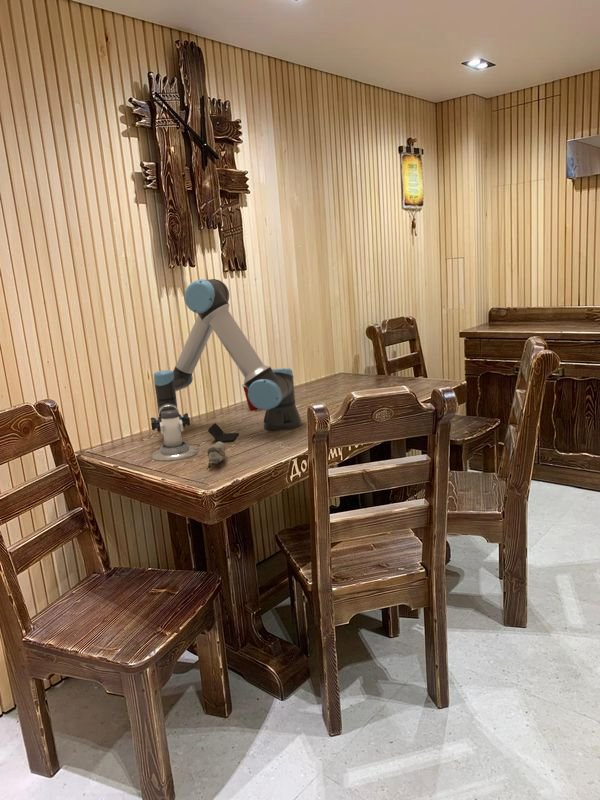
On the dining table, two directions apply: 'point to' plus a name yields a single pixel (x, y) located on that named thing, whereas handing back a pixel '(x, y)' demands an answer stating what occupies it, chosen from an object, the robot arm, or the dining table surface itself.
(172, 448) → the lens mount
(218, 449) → the decorative bird
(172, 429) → the lens
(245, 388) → the plastic cup
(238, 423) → the dining table surface
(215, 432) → the handheld gaming console
